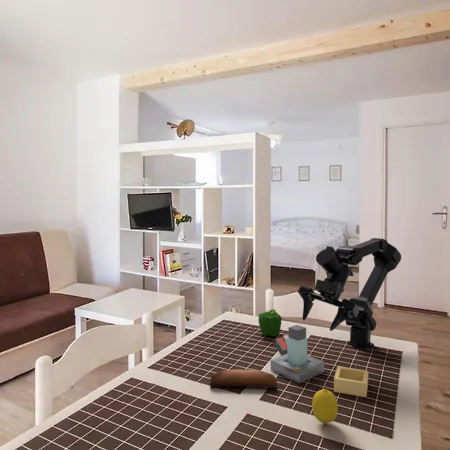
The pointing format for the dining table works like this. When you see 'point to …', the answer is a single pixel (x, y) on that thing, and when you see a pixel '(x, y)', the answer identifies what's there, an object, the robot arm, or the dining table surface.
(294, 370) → the port block
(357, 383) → the yellow square socket
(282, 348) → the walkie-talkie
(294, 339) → the plug
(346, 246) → the robot arm
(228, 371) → the sunglasses case
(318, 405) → the lemon
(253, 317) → the dining table surface
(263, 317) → the bell pepper
